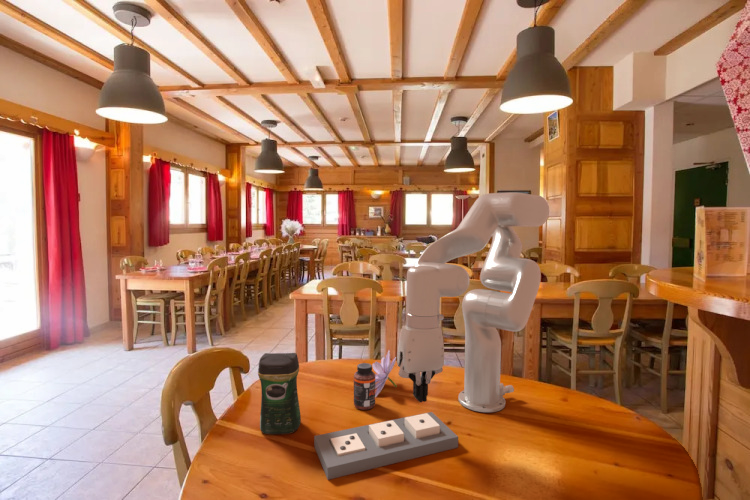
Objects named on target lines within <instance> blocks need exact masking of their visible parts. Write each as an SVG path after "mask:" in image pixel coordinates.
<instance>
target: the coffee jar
mask: <svg viewBox="0 0 750 500" xmlns="http://www.w3.org/2000/svg"><path fill="white" fill-rule="evenodd" d="M258 362H259V363H258V369H257V375H258V378H259V381H260V387H261V388H260V389H261V390H260V391H261V401H260V416H259V429H260V431H261V432H262V433H263V434H266V435H285V434H292V433H294V432H296V431H297V430H298V429H299V428H300V425H301V422H302V420H301V419H302V416H301V409H300V401H299V396H298V395H299V394H298V393H299V392H298V380H297V379H298V378H297V377H298V375H299V373H300V363H299V357H298V355H297V352H290V353H289V352H287V353H286V352H285V353H284V352H282V353H281V352H277V353H268V352H266V353H264V354H263V355H262V356H261V357H260V358H259V361H258Z"/></svg>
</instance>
